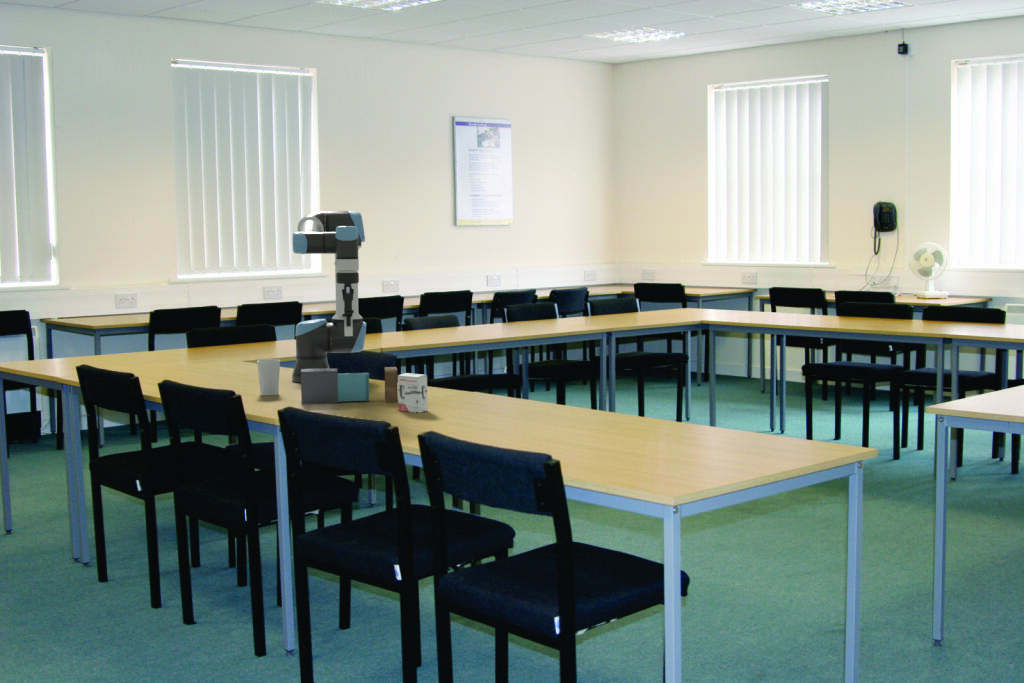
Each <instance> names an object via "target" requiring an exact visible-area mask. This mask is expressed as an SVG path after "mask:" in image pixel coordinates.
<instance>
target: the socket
mask: <svg viewBox="0 0 1024 683" xmlns="http://www.w3.org/2000/svg"><path fill="white" fill-rule="evenodd" d="M384 399H385V403H396V402H397V403H398V368H397V367H396V366H390V367H389V366H388V367H387V366H384Z"/></svg>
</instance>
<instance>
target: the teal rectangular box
mask: <svg viewBox="0 0 1024 683" xmlns="http://www.w3.org/2000/svg"><path fill="white" fill-rule="evenodd" d="M337 381H338V402H369V401H370V373H369V372H356V373H355V372H351V373H350V372H345V373H343V372H342V373H339V372H337Z"/></svg>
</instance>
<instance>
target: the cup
mask: <svg viewBox="0 0 1024 683" xmlns="http://www.w3.org/2000/svg"><path fill="white" fill-rule="evenodd" d="M256 365H257V373H258V382H259V393H260V394H262V395H261V396H263V395H273V396H278V395H279V393H280V390H279V385H280V369H281V368H280V367H281V360H280V359H276V358H275V359H274V358H273V359H271V358H269V359H268V358H266V359H259V360H257V361H256ZM260 394H259V395H260ZM277 394H278V395H277Z"/></svg>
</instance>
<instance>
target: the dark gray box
mask: <svg viewBox="0 0 1024 683" xmlns="http://www.w3.org/2000/svg"><path fill="white" fill-rule="evenodd" d="M337 373H338V367H336V368H335V367H334V368H333V367H331V368H325V369H301V383H300V386H301V387H300V390H301V392H300V393H301V395H300V396H301V397H300V398H301V401H300V402H301V405H323V404H325V405H326V404H328V405H329V404H339V401H338V381H337Z"/></svg>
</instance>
